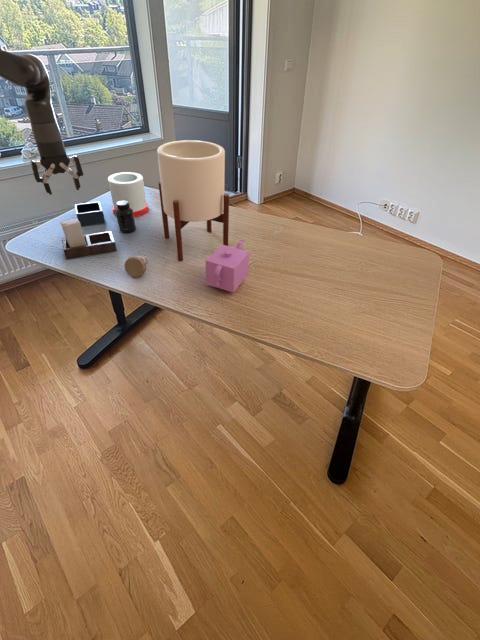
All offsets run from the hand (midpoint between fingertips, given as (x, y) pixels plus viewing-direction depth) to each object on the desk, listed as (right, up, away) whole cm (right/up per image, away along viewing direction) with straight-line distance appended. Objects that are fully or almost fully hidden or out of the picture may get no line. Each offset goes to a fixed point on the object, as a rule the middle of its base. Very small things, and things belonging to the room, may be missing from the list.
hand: (64, 191), depth 115 cm
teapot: (+55, -29, +6) cm, 62 cm away
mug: (+22, -25, +9) cm, 35 cm away
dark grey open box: (-7, +1, +37) cm, 37 cm away
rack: (+1, -16, +18) cm, 24 cm away
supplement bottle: (+11, -5, +31) cm, 33 cm away
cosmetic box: (-3, -17, +17) cm, 24 cm away
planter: (+41, -13, +24) cm, 49 cm away
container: (+8, +8, +46) cm, 47 cm away
